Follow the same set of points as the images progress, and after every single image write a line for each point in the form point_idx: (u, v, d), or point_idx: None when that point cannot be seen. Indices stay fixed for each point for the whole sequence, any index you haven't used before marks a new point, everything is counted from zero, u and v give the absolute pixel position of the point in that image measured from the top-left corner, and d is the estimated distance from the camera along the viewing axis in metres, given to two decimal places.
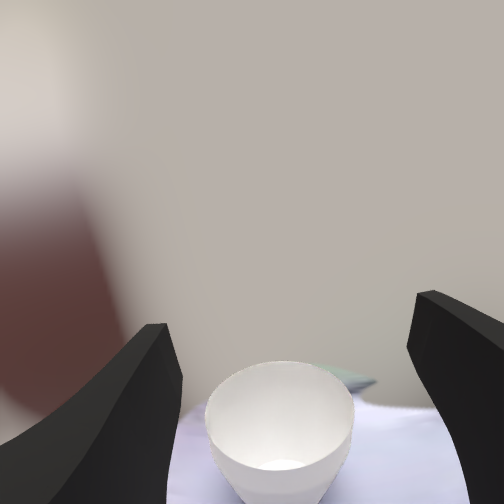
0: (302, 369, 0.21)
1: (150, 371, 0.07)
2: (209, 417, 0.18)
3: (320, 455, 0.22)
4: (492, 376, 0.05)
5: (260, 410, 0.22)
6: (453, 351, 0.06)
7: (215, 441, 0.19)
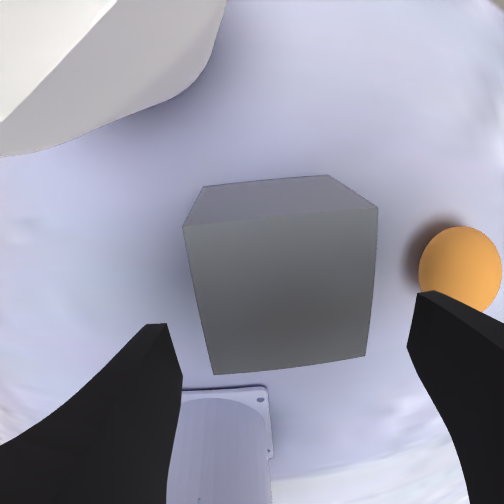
0: None
1: (150, 370, 0.07)
2: None
3: None
4: (492, 376, 0.05)
5: None
6: (453, 351, 0.06)
7: None
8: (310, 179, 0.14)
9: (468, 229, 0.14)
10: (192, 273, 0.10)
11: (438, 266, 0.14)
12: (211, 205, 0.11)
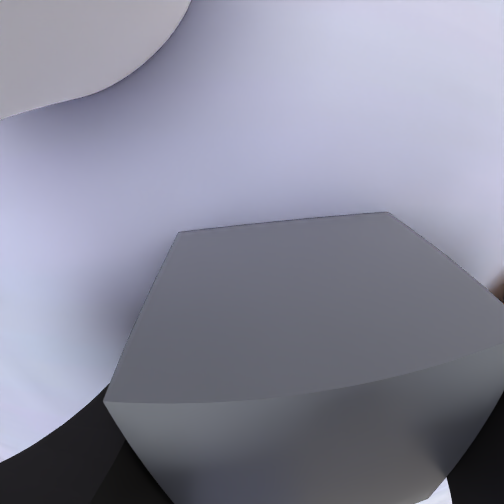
0: None
1: None
2: None
3: None
4: None
5: None
6: None
7: None
8: (364, 223, 0.08)
9: None
10: (146, 465, 0.04)
11: None
12: (181, 305, 0.05)
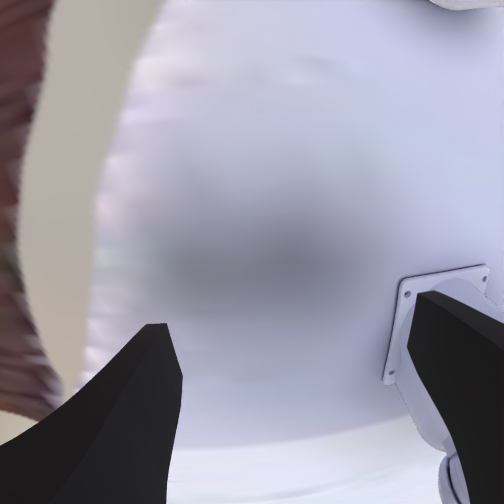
0: None
1: (149, 370, 0.07)
2: None
3: None
4: (492, 376, 0.05)
5: None
6: (453, 351, 0.06)
7: None
8: None
9: None
10: None
11: None
12: None
